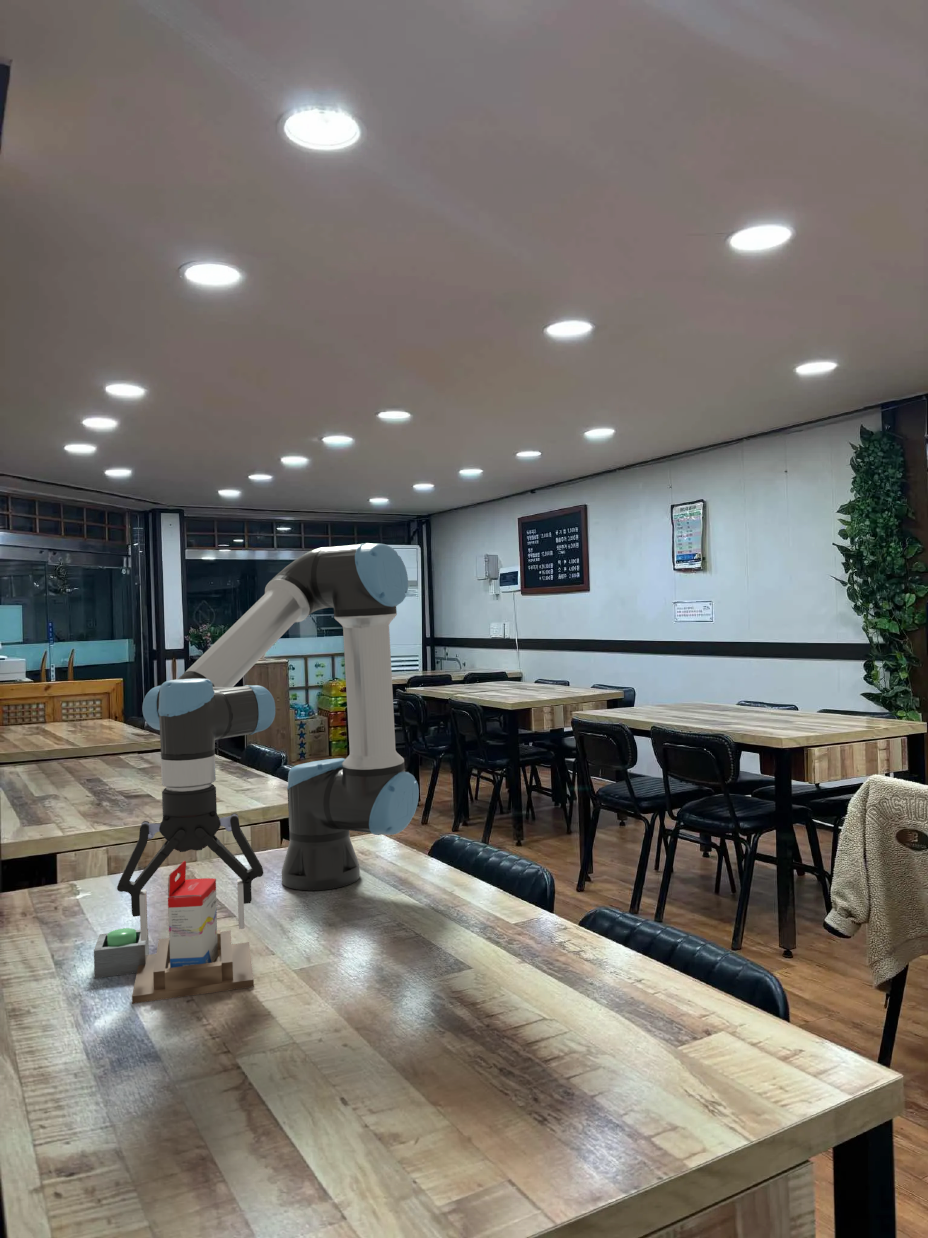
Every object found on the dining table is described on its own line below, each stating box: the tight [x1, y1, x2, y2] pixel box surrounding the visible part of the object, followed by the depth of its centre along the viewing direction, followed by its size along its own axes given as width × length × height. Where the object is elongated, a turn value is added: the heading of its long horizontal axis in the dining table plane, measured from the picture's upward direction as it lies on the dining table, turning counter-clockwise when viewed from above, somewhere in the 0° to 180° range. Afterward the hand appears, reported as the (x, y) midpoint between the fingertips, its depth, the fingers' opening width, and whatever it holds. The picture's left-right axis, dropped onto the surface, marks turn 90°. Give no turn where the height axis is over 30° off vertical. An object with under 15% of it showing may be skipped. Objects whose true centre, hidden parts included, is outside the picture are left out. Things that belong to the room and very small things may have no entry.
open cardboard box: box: [131, 929, 255, 1005], centre depth 129 cm, size 16×15×4 cm
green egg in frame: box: [93, 928, 150, 979], centre depth 133 cm, size 7×7×4 cm
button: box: [106, 927, 137, 947], centre depth 133 cm, size 4×4×3 cm
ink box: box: [167, 860, 218, 968], centre depth 129 cm, size 8×5×15 cm, turn 2°
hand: (193, 931), depth 129 cm, fingers open, 13 cm apart
